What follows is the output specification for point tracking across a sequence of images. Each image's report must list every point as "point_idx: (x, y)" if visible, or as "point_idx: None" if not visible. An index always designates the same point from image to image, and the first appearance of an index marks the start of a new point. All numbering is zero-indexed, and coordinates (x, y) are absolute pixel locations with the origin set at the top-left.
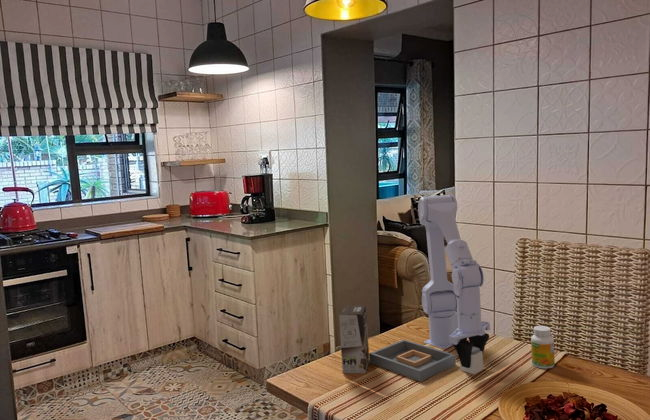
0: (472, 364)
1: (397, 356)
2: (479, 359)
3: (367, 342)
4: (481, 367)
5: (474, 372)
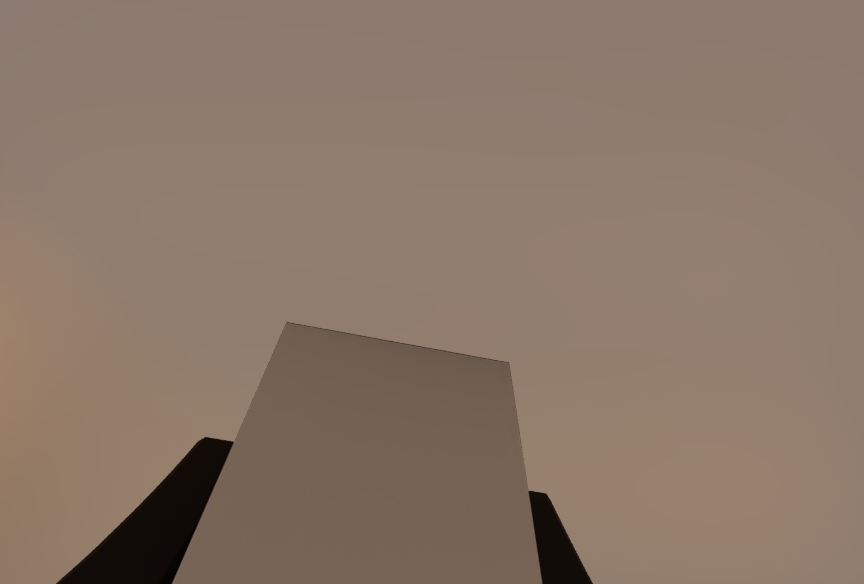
0: (523, 499)
1: None
2: (329, 487)
3: None
4: (313, 368)
5: (495, 387)
